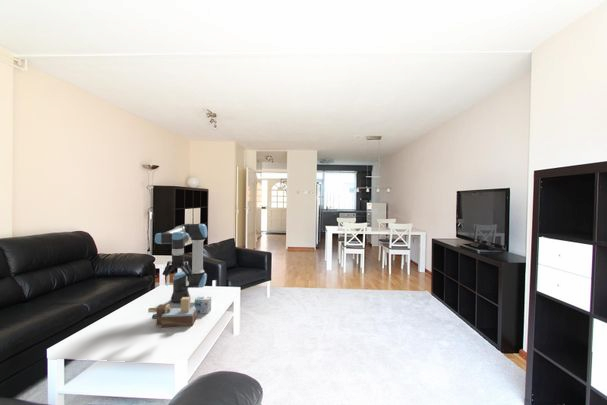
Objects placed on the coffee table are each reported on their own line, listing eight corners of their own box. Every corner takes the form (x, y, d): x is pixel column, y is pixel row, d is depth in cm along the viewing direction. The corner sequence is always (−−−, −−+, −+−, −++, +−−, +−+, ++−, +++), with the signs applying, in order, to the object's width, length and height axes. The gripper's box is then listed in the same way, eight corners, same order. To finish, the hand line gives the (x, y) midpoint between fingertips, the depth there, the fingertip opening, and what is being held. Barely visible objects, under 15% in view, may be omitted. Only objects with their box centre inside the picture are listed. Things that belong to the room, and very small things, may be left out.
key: (149, 311, 199) (149, 308, 199) (170, 310, 201) (170, 307, 201) (148, 312, 197) (148, 309, 197) (169, 311, 199) (169, 308, 199)
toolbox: (161, 320, 205) (161, 302, 205) (196, 318, 208) (196, 301, 208) (154, 327, 193) (154, 309, 193) (192, 326, 196) (192, 308, 196)
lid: (167, 310, 205) (167, 296, 205) (196, 309, 208) (196, 295, 208) (161, 317, 194) (161, 301, 193) (191, 315, 196) (192, 300, 196)
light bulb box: (194, 313, 218) (194, 299, 218) (197, 309, 225) (197, 296, 225) (208, 313, 218) (208, 299, 218) (211, 310, 224) (211, 296, 224)
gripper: (157, 255, 195) (156, 286, 195) (193, 255, 194) (193, 287, 194) (162, 253, 202) (162, 283, 203) (198, 253, 201) (197, 284, 202)
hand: (177, 285), depth 198 cm, fingers open, 13 cm apart
